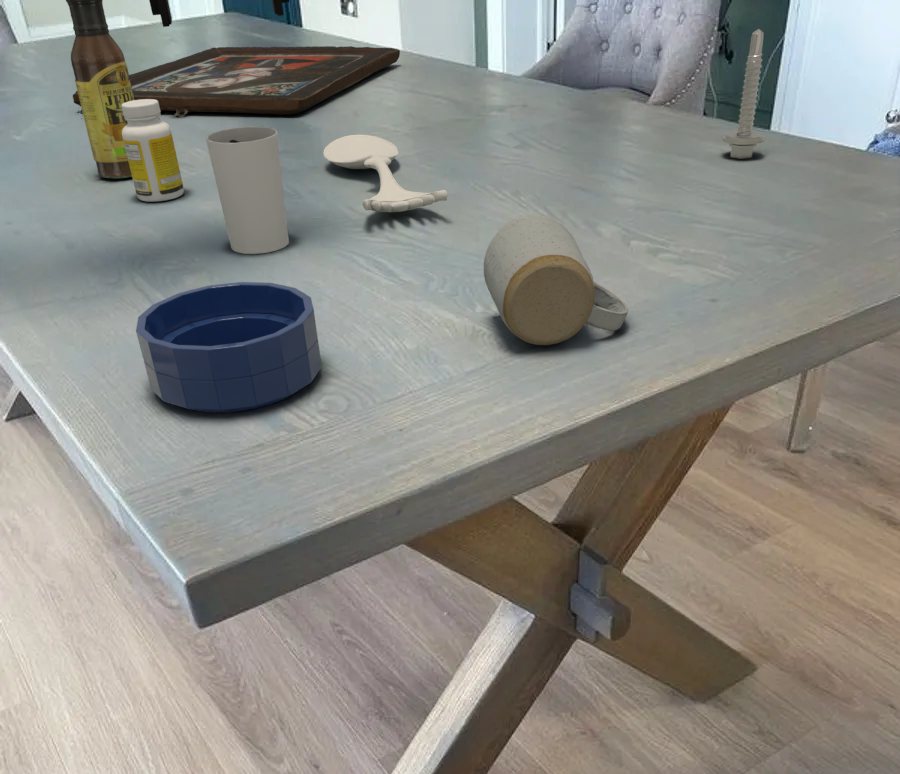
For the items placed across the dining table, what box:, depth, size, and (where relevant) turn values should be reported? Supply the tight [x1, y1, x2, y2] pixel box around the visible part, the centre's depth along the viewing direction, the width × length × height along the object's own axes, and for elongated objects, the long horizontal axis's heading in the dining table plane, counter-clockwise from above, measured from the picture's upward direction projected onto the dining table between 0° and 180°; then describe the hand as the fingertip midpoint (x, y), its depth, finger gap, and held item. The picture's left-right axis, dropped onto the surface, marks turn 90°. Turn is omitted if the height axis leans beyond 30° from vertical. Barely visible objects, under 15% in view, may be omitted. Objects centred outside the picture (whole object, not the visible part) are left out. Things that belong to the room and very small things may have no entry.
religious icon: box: [72, 45, 401, 116], centre depth 159 cm, size 40×45×3 cm
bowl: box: [135, 281, 323, 413], centre depth 67 cm, size 12×12×5 cm
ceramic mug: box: [483, 214, 629, 346], centre depth 71 cm, size 11×8×8 cm
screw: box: [721, 28, 766, 160], centre depth 107 cm, size 13×5×5 cm
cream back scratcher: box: [323, 134, 449, 213], centre depth 106 cm, size 9×32×4 cm, turn 15°
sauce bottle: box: [65, 0, 134, 179], centre depth 111 cm, size 6×6×20 cm
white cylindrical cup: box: [205, 126, 290, 255], centre depth 90 cm, size 7×7×10 cm
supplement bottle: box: [121, 99, 185, 203], centre depth 106 cm, size 5×5×10 cm
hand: (223, 19), depth 81 cm, fingers open, 9 cm apart
